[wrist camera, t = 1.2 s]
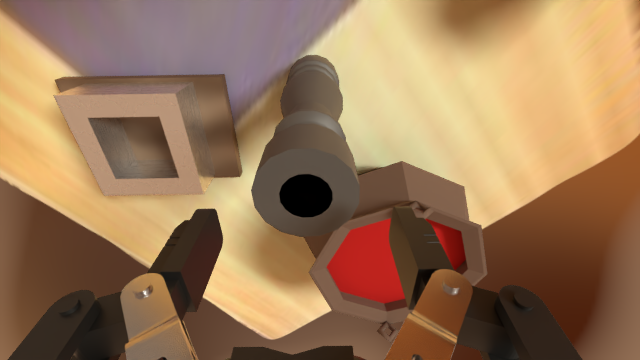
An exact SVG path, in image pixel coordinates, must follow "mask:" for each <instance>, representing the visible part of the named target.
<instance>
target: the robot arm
mask: <svg viewBox="0 0 640 360" xmlns="http://www.w3.org/2000/svg"><path fill="white" fill-rule="evenodd" d="M222 244H223V235H222V230H221V227H220V223H219V219H218V215H217V212H216V210H215V209H197V210H196V211H195V213H194V214H193V216H192V218H191V219H190V220H185V221H184V222H182V223H181V224H180V225H179V226H178V227H176V228H175V230H174V231H173V233H172V235H171V236H170V239H168V241H167V242H166V244H165V247H163V249H162V250H161V252H160V254H159V255H158V257H157V258H156V260H155V262H154V263H153V265H152V266H151V268H150V270H149V271H148V273H147V274H144V275H142V276H139V277H137V278H135V279H134V280H132V281H131V282H129V283H128V284H127V286H125V288H124V289H123V291H122V292H118V293H115V294H111V295H107V296H104V297H100V298H96V296H95V295H94V294H93V292H91V291H89V290H80V291H76V292H73V293H70V294H68V295H66V296H64V297H62V298H61V299H59V300H58V301H57V302H55V303H54V304H53V305H52V306H51V307H50V308H49V309H48V310H47V312H46V313H45V314H44V315H43V317H42V318H41V319H40V320H39V322H38V323H37V324H36V325H35V327H34V328H33V329H32V330H31V331H30V333H29V334H28V335H27V336H26V338H25V339H24V340H23V341H22V343H21V344H20V345H19V346H18V348H17V349H16V350H15V351H14V352H13V354H12V355H11V356H10V357H9V359H8V360H70V359H71V360H118V359H119V357H120V355H121V353H124V352H126V357H127V360H198V358H197V356H196V353H195V351H194V348H193V345H192V343H191V340H190V338H189V335H188V332H187V330H186V327H185V325H184V322H183V318H184V315H185V313H186V312H196V311H197V309H198V307H199V304H200V302H201V299H202V297H203V294H204V291H205V289H206V286H207V284H208V281H209V279H210V276H211V274H212V271H213V268H214V266H215V263H216V261H217V258H218V256H219V253H220V251H221V248H222ZM389 244H390V248H391V251H392V255H393V258H394V262H395V265H396V268H397V272H398V275H399V279H400V282H401V286H402V289H403V293H404V296H405V299H406V303H407V306H408V310H413V312H412V313H411V312H410V313H409V314H408V316H407V318H406V319H405V321H404V323H403V325H402V327H401V329H400V331H399V333H398V334H397V336H396V338H395V340H394V342H393V344H392V346H391V348H390V350H389V352H388V353H387V355H386V357H385V359H384V360H450V359H451V356H452V354H453V351H454V348H455V345H456V343H457V344H461V345H464V346H467V347H470V348H474V349H477V350H479V351H480V353H481V356H482V358H483V360H582V358H581V357H580V355H579V354H578V353H577V351H576V349H575V348H574V347H573V345H572V344H571V342H570V341H569V339H568V338H567V336H566V335H565V333H564V332H563V330H562V329H561V327H560V326H559V324H558V323H557V322H556V320H555V318H554V317H553V315H552V314H551V313H550V311H549V310H548V308H547V307H546V305H545V304H544V303H543V301H542V300H541V299H540V298H539V297H538V296H537V295H536V294H534V293H533V292H531V291H529V290H527V289H525V288H523V287H520V286H514V285H508V286H505V287H503V288H502V289H501V290H500V291H499V293H496V292H492V291H488V290H484V289H480V288H477V287H474V286H472V285H471V284H470V282H469V281H468V280H467V279H466V278H465V277H464V276H463V275H461V274H460V273H458V272H456V271H455V270H454V268H453V266H452V264H451V262H450V260H449V259H448V257H447V255H446V253H445V251H444V249H443V247H442V245H441V243H440V241H439V239H438V237H437V236H436V233H435V231H434V229H433V227H432V225H431V224H430V223H429V222H428V221H426V220H425V219H424V218H416V216H415V214H414V212H413V209H412V208H411V207H410V206H406V207H393V210H392V216H391V222H390V229H389ZM72 356H73V357H72ZM71 357H72V358H71ZM225 360H365V359H363V358H361V357H358V356H354V355H353V347H352V346H322V347H319V348H316V349H312V350H308V351H305V352H301V353H298V354H294V355H291V354H287V353H283V352H279V351H276V350H272V349H268V348H265V347H234V348H233V352H232V356H231V358H228V359H225Z"/></svg>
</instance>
